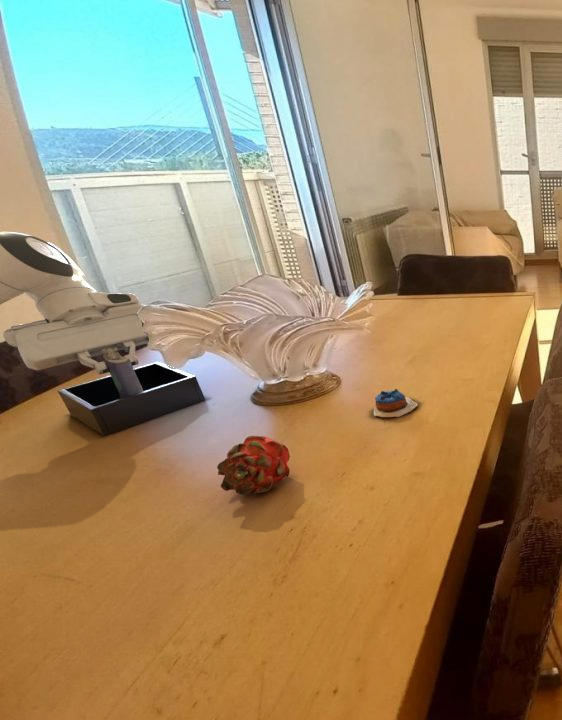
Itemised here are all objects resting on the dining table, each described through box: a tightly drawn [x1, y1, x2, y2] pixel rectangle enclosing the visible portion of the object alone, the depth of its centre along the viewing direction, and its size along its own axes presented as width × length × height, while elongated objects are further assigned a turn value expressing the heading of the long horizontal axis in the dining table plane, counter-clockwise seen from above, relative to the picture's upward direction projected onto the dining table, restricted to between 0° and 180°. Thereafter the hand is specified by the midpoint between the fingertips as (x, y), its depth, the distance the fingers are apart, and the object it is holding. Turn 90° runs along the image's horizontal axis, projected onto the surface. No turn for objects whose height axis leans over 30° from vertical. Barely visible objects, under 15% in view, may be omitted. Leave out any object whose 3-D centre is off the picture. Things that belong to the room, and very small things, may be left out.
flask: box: [102, 348, 144, 399], centre depth 93 cm, size 9×3×11 cm, turn 57°
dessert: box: [373, 388, 419, 418], centre depth 93 cm, size 8×7×6 cm
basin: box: [57, 361, 206, 437], centre depth 95 cm, size 16×18×6 cm
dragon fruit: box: [216, 435, 291, 495], centre depth 71 cm, size 8×8×12 cm
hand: (119, 367), depth 93 cm, fingers closed on flask, 3 cm apart
